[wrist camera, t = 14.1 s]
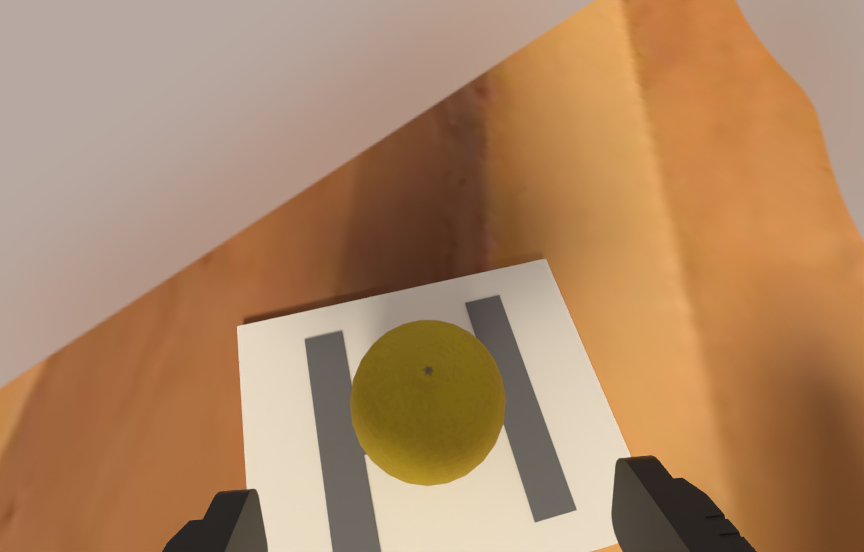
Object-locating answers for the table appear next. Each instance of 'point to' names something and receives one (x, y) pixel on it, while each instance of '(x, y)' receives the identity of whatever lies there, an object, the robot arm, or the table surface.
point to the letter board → (445, 503)
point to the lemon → (427, 402)
